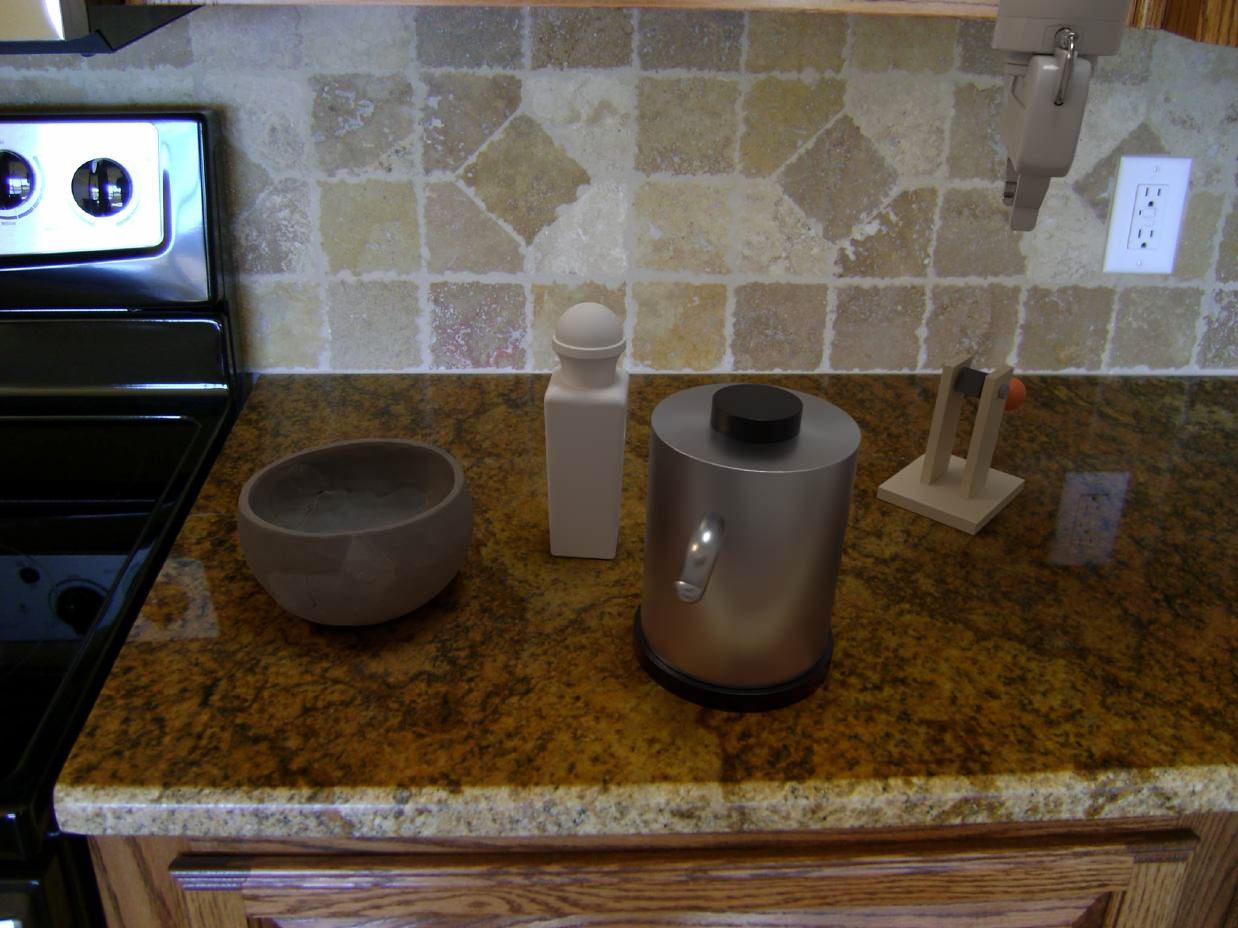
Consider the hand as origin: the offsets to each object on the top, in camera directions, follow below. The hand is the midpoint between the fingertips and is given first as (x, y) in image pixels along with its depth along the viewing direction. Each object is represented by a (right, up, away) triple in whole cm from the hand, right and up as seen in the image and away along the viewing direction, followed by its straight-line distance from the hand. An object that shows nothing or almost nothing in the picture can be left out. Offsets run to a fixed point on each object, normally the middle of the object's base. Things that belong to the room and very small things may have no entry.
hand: (1015, 216), depth 75 cm
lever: (+5, -14, +18) cm, 23 cm away
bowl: (-52, -30, +1) cm, 61 cm away
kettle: (-23, -34, -4) cm, 41 cm away
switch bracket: (+1, -23, +18) cm, 29 cm away
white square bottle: (-35, -27, +8) cm, 45 cm away
